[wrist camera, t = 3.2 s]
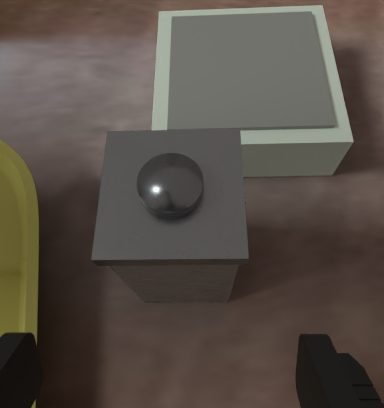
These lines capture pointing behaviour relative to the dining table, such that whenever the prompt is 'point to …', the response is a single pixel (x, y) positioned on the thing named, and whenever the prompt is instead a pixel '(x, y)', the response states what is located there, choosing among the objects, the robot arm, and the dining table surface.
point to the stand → (255, 85)
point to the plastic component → (18, 245)
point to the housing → (173, 213)
